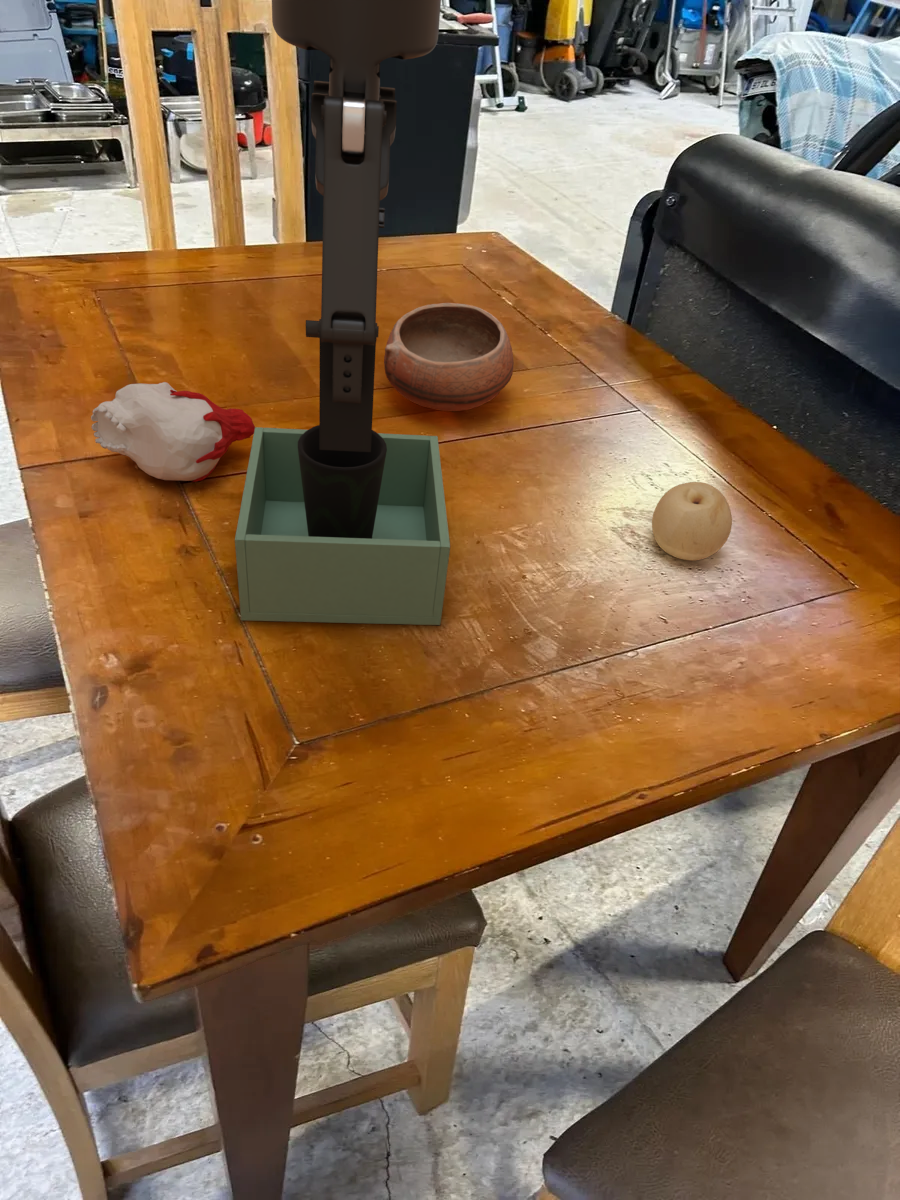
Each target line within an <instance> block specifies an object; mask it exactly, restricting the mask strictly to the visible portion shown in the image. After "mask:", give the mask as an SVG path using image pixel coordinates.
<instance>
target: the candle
mask: <svg viewBox="0 0 900 1200" xmlns="http://www.w3.org/2000/svg"><path fill="white" fill-rule="evenodd" d="M90 420H91V422H94V423H92V425H91V430H92V432H93V437H95V439H94V442H95V444H99V445H100V447H101V448H102V449H106V450H108V451H110V452H112V453H118V454H120V455H122V456H126V457H128V458H129V459H131V461H133V462H134V463H135V464H136V465H137V467H138V468H139V469H140V470H142V471H143V472H144V473H145V474H147V475H149V476H151V477H154V478H155V479H158V480H164V481H183V482H187V481H188V482H189V481H191V483H194V482H195V483H196V482H201V481H203V480H205V479H206V478H207V477H209V476H210V475H211V474H212V473H213V472H214V470H215V469H216V467H217V465H218V463H219V462H220V460H221V458H222V457H223V456H224V455H225V454H226V453H227V452H228V450H229V447H230V446H231V445H232V444H233V443H235V442H239V441H244V440H245V439H250V438H251V437H252V436H254V430H255V427H256V426H255V424H254V422H253V418H252V417H251V416H250V415H249V414H248V413H246V412H245V410H243V409H241V408H232V407H231V408H227V409H226V408H223V407H221V406H219V405H217V404H216V403H215V402H214V401H212V400H210V398H209V397H208V396H206V395H205V394H203V393H200V392H195V391H190V390H178V391H177V390H175V388H173V387H172V386H171V385H170V383H168V382H166V381H163V382H159V383H131V384H130V383H129V384H127V385H125V386H123V387H122V388H119V389H118V390H116V392H115V397H114V398H113V399H112V400H108V401H107V400H106V401H103V402H101V403H99V404H98V406H96V407H95V408H93V410H92V415H91V416H90Z"/></svg>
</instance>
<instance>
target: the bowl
mask: <svg viewBox="0 0 900 1200" xmlns="http://www.w3.org/2000/svg"><path fill="white" fill-rule="evenodd" d="M383 359H384V361H383V365H384V372H385V377H386V379H387V381H388V383H389V384H390V385H391V386H392V388H393V389H395V391H396V392H398V393H399V394H400V395H401V396H402V397H404V399H406V400H408V401H410V402H412V403H414V404H416V405H419V406H420V407H423V408H427V409H428V408H429V409H432V410H437V411H443V412H461V411H467V410H472V409H475V408H478V407H481V406H483V405H484V404H486V403H488V402H490V401H492V400H493V399H494V398H496V397H497V396H498V395H499V394H500V391H502V390H503V389H504V388H505V387H506V386H507V385H508V384H509V383H510V382H511V380H512V377H513V373H514V366H515V365H514V364H515V363H514V361H515V360H514V352H513V348H512V344H511V340H510V337H509V335H508V331H507V330H506V329H505V327H504V325H503V323H502V322H501V321H500V320H499V319H498V318H497V317H496V316H494V315H493V314H492V313H490V312H489V311H487V310H485V309H483V308H481V307H479V306H475V305H472V304H471V305H470V304H467V303H455V302H441V303H431V304H426V305H421V306H418V307H416V308H414V309H412V310H410V311H408V312H406V313H405V314H404V315H402V316H401V317H400V318H399V319H398V320H397V321H396V322H395V324H394V325H393V328H392V329H391V330H390V333H389V336H388V338H387V341H386V345H385V348H384V358H383Z"/></svg>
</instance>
